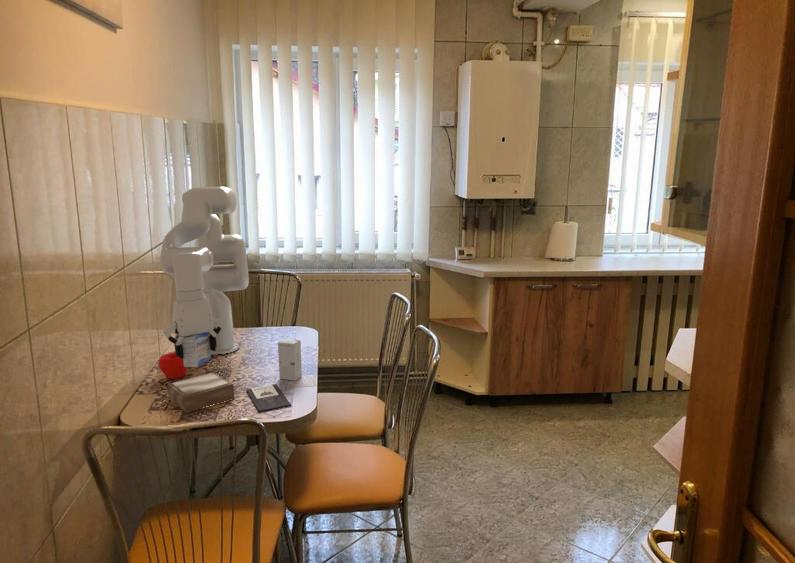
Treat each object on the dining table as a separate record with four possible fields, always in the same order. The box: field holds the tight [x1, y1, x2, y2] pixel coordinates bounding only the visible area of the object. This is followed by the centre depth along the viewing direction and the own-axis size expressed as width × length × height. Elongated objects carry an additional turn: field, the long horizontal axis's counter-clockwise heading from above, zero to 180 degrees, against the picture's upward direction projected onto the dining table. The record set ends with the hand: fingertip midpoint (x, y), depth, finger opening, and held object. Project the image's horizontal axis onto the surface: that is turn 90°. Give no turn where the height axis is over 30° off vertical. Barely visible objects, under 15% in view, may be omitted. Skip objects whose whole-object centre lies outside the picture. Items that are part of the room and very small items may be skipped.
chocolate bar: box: [246, 383, 292, 413], centre depth 173 cm, size 9×1×18 cm
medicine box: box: [181, 332, 212, 368], centre depth 170 cm, size 8×4×9 cm, turn 169°
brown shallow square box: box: [167, 371, 235, 414], centre depth 173 cm, size 14×14×5 cm
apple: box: [158, 351, 189, 380], centre depth 192 cm, size 9×9×8 cm
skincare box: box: [277, 338, 303, 381], centre depth 187 cm, size 6×4×12 cm
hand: (196, 353), depth 171 cm, fingers closed on medicine box, 9 cm apart
